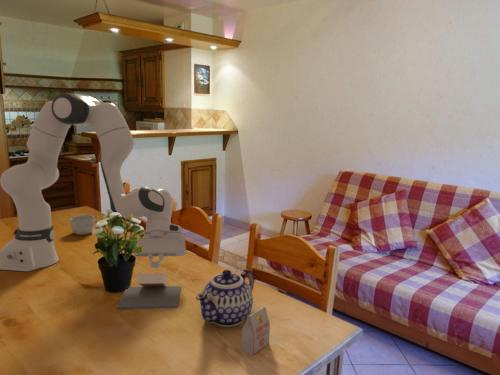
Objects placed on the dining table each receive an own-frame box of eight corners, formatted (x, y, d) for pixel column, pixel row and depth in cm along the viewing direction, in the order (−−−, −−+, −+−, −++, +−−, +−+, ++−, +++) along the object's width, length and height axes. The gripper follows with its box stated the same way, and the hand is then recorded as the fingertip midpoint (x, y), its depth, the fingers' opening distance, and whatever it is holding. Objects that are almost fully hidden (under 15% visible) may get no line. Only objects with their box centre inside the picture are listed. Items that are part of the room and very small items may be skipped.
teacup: (89, 236, 185) (88, 220, 183) (66, 236, 185) (65, 219, 183) (100, 228, 199) (100, 212, 197) (79, 227, 199) (78, 212, 197)
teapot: (235, 296, 130) (236, 253, 127) (272, 311, 121) (274, 265, 118) (176, 325, 111) (176, 276, 108) (215, 346, 101) (216, 292, 99)
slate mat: (117, 308, 119) (116, 307, 119) (127, 288, 133) (127, 286, 133) (177, 307, 121) (177, 306, 120) (181, 287, 134) (181, 286, 134)
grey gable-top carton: (241, 350, 100) (242, 313, 98) (258, 339, 105) (259, 304, 103) (252, 356, 98) (253, 319, 96) (269, 344, 103) (270, 309, 101)
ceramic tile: (142, 287, 134) (137, 283, 125) (143, 277, 135) (138, 273, 126) (166, 286, 135) (163, 283, 126) (167, 277, 136) (163, 273, 127)
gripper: (126, 227, 138) (121, 264, 130) (186, 226, 139) (184, 263, 132) (130, 235, 143) (125, 271, 135) (186, 235, 145) (185, 270, 137)
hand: (154, 267), depth 133 cm, fingers closed
